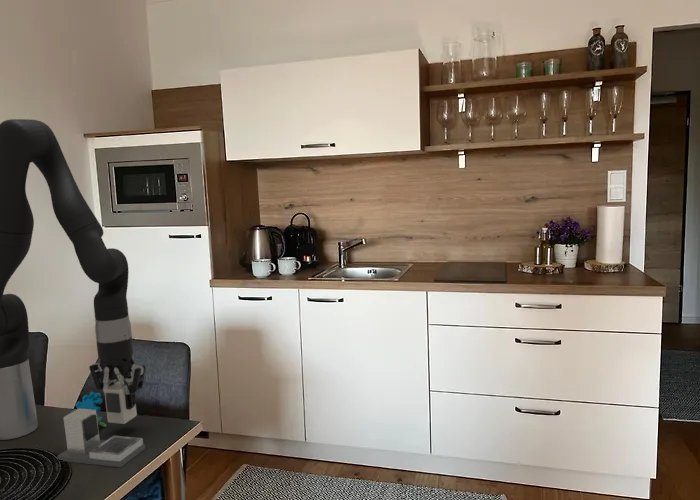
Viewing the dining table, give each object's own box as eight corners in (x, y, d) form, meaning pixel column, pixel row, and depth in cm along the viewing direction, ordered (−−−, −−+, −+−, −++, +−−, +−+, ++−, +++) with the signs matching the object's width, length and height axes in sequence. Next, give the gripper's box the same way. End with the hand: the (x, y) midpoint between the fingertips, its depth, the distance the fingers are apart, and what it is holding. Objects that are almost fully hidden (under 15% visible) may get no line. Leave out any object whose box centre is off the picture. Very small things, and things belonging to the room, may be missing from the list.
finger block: (106, 423, 128) (102, 390, 127) (120, 413, 133) (117, 381, 132) (123, 424, 127) (119, 391, 126) (136, 415, 132) (133, 383, 131)
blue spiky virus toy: (60, 419, 136) (88, 384, 139) (79, 428, 140) (106, 394, 143) (76, 438, 128) (105, 401, 131) (96, 448, 132) (124, 411, 135)
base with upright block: (57, 460, 119) (52, 420, 117) (85, 442, 126) (80, 404, 125) (120, 467, 114) (115, 425, 113) (145, 448, 122) (140, 409, 120)
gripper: (76, 340, 126) (84, 411, 128) (130, 342, 122) (137, 416, 124) (99, 330, 133) (106, 398, 135) (151, 332, 129) (157, 403, 131)
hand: (121, 407), depth 130 cm, fingers closed on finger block, 4 cm apart
